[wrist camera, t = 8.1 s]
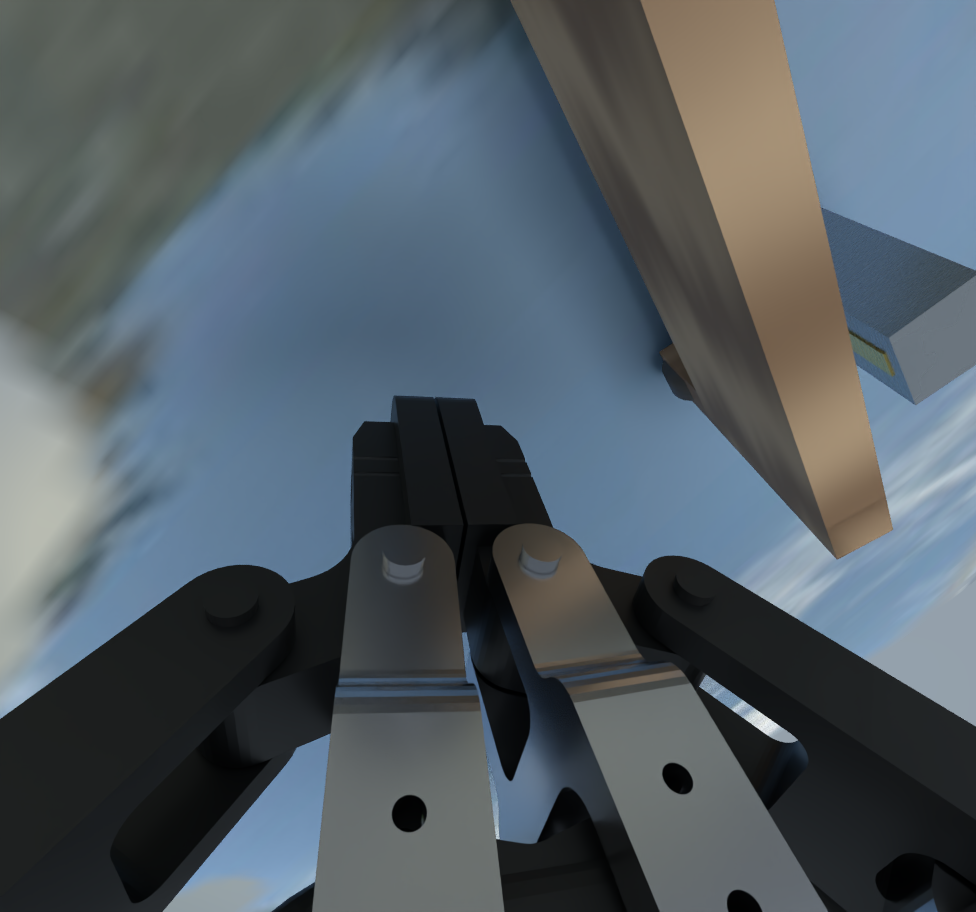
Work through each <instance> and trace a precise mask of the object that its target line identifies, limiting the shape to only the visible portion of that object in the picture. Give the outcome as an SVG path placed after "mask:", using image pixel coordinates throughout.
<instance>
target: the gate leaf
mask: <svg viewBox="0 0 976 912" xmlns="http://www.w3.org/2000/svg"><path fill="white" fill-rule="evenodd" d="M510 1H511V3H512V5H513V7H514V9H515V11H516V13H517V15H518V18H519V20H520V22H521V24H522V26H523V28H524V30H525V32H526V34H527V36H528V39H529V41H530V43H531V45H532V47H533V49H534V51H535V53H536V55H537V57H538V60H539V62H540V64H541V66H542V68H543V70H544V72H545V74H546V76H547V79H548V81H549V83H550V85H551V87H552V89H553V91H554V93H555V95H556V97H557V100H558V102H559V104H560V106H561V108H562V110H563V112H564V114H565V116H566V118H567V121H568V123H569V125H570V127H571V129H572V131H573V133H574V135H575V137H576V140H577V142H578V144H579V146H580V148H581V150H582V152H583V154H584V156H585V158H586V161H587V163H588V165H589V167H590V169H591V171H592V173H593V175H594V177H595V180H596V182H597V184H598V186H599V188H600V190H601V192H602V194H603V196H604V198H605V201H606V203H607V205H608V207H609V209H610V211H611V213H612V215H613V217H614V219H615V222H616V224H617V226H618V228H619V230H620V232H621V234H622V236H623V238H624V241H625V243H626V245H627V247H628V249H629V251H630V253H631V255H632V257H633V259H634V262H635V264H636V266H637V268H638V270H639V272H640V274H641V276H642V278H643V280H644V283H645V285H646V287H647V289H648V291H649V293H650V295H651V297H652V299H653V302H654V304H655V306H656V308H657V310H658V312H659V314H660V316H661V318H662V320H663V323H664V325H665V327H666V329H667V331H668V333H669V335H670V337H671V339H672V341H673V343H672V344H671V345H669V346H668V347H666V348H665V349H663V350H661V351H660V352H659V353H660V355H661V357H662V359H663V364H662V372H663V374H664V376H665V378H666V380H667V382H668V384H669V386H670V388H671V390H672V392H673V393H674V395H675V396H677V397H678V398H680V399H683V400H689V401H693V402H694V403H695V404H696V405H697V407H698V408H699V409H700V410H701V411H702V412H703V413H704V414H705V415H706V416H707V418H708V419H709V420H710V421H711V422H712V423H713V424H714V425H715V426H716V427H717V429H718V430H719V431H720V432H721V433H722V434H723V435H724V436H725V437H726V438H727V439H728V441H729V442H730V443H731V444H732V445H733V446H734V447H735V448H736V449H737V450H738V452H739V453H740V454H741V455H742V456H743V457H744V458H745V459H746V460H747V461H748V462H749V464H750V465H751V466H752V467H753V468H754V469H755V470H756V471H757V472H758V473H759V475H760V476H761V477H762V478H763V479H764V480H765V481H766V482H767V483H768V484H769V486H770V487H771V488H772V489H773V490H774V491H775V492H776V493H777V494H778V495H779V496H780V498H781V499H782V500H783V501H784V502H785V503H786V504H787V505H788V506H789V507H790V509H791V510H792V511H793V512H794V513H795V514H796V515H797V516H798V517H799V518H800V520H801V521H802V522H803V523H804V524H805V525H806V526H807V527H808V528H809V529H810V530H811V532H812V533H813V534H814V535H815V536H816V537H817V538H818V539H819V540H820V541H821V543H822V544H823V545H824V546H825V547H826V548H827V549H828V550H829V551H830V552H831V554H832V555H833V556H834V557H835V558H836V559H839V558H841V557H843V556H845V555H847V554H849V553H851V552H852V551H854V550H856V549H858V548H860V547H862V546H864V545H866V544H867V543H869V542H871V541H873V540H875V539H877V538H879V537H881V536H882V535H884V534H886V533H888V532H890V531H892V530H893V527H892V523H891V518H890V514H889V510H888V505H887V501H886V496H885V492H884V487H883V483H882V478H881V474H880V469H879V465H878V461H877V456H876V452H875V447H874V443H873V438H872V434H871V429H870V425H869V420H868V416H867V412H866V407H865V403H864V398H863V394H862V389H861V385H860V380H859V376H858V371H857V367H856V363H855V358H854V354H853V349H852V345H851V340H850V336H849V331H848V327H847V322H846V318H845V314H844V309H843V305H842V300H841V296H840V291H839V287H838V282H837V278H836V273H835V269H834V265H833V260H832V256H831V251H830V247H829V242H828V238H827V233H826V229H825V224H824V220H823V216H822V211H821V207H820V202H819V198H818V193H817V189H816V184H815V180H814V175H813V171H812V167H811V162H810V158H809V153H808V149H807V144H806V140H805V135H804V131H803V126H802V122H801V118H800V113H799V109H798V104H797V100H796V95H795V91H794V86H793V82H792V77H791V73H790V69H789V64H788V60H787V55H786V51H785V46H784V42H783V37H782V33H781V29H780V24H779V20H778V15H777V11H776V6H775V2H774V0H510Z"/></svg>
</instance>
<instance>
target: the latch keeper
mask: <svg viewBox="0 0 976 912" xmlns="http://www.w3.org/2000/svg"><path fill="white" fill-rule="evenodd" d="M821 211H822V216H823V220H824V224H825V229H826V233H827V238H828V242H829V247H830V251H831V256H832V260H833V265H834V269H835V273H836V278H837V282H838V287H839V291H840V296H841V300H842V305H843V309H844V314H845V318H846V322H847V327H848V331H849V336H850V340H851V345H852V349H853V354H854V358H855V363H856V365H857V366H859V367H860V368H862V369H863V370H865V371H866V372H868V373H869V374H871V375H872V376H874V377H875V378H876V379H878V380H879V381H881V382H882V383H884V384H885V385H887V386H888V387H890V388H891V389H893V390H894V391H896V392H897V393H898V394H900V395H901V396H903V397H904V398H906V399H907V400H909V401H910V402H912V403H913V404H915V405H917V404H918V403H920V402H921V401H923V400H924V399H926V398H927V397H929V396H930V395H932V394H933V393H935V392H936V391H938V390H939V389H941V388H942V387H943V386H945V385H946V384H948V383H949V382H951V381H952V380H954V379H955V378H957V377H958V376H960V375H961V374H963V373H964V372H966V371H967V370H969V369H970V368H972V367H973V366H975V365H976V271H975V270H973V269H970V268H968V267H965V266H963V265H961V264H958V263H956V262H953V261H951V260H948V259H946V258H943V257H941V256H938V255H936V254H934V253H931V252H929V251H926V250H924V249H921V248H919V247H916V246H914V245H911V244H909V243H907V242H904V241H902V240H899V239H897V238H894V237H892V236H889V235H887V234H884V233H882V232H880V231H877V230H875V229H872V228H870V227H867V226H865V225H862V224H860V223H858V222H855V221H853V220H850V219H848V218H845V217H843V216H840V215H838V214H835V213H833V212H831V211H828V210H826V209H823V208H821Z"/></svg>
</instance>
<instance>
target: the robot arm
mask: <svg viewBox="0 0 976 912" xmlns="http://www.w3.org/2000/svg"><path fill="white" fill-rule="evenodd" d="M462 632H467V636H468V641H469V646H470V651H469V656H468V660H467V665H466V671H465V661H464V651H463V641H462ZM706 675H708V676H709V677H711V678H712V679H713V680H715V681H716V682H718V683H719V684H721V685H722V686H723V687H725V688H726V689H728V690H729V691H731V692H732V693H734V694H735V695H736V696H738V697H739V698H741V699H742V700H744V701H745V702H746V703H748V704H749V705H751V706H752V707H754V708H755V709H756V710H758V711H759V712H761V713H762V714H764V715H765V716H766V717H768V718H769V719H771V720H772V721H774V722H775V723H777V724H778V725H779V726H781V727H782V728H784V729H785V730H787V731H788V732H790V733H791V734H792V735H793V736H795V737H796V738H797V739H798V741H796V742H793V743H784V742H780V741H777V740H775V739H773V738H771V737H769V736H767V735H766V734H765V733H763V732H762V731H760V730H759V729H758V728H756V727H755V726H753V725H752V724H751V723H749V722H748V721H746V720H745V719H744V718H742V717H741V716H739V715H738V714H736V713H735V712H734V711H732V710H731V709H729V708H728V707H727V706H725V705H724V704H722V703H721V702H720V701H718V700H717V699H715V698H714V697H713V696H711V695H710V694H708V693H707V692H706V691H704V690H703V689H701V688H700V687H699V686H700V684H701V682H702V681H703V679H704V677H705V676H706ZM466 677H467V678H466ZM330 733H331V735H330V745H329V754H328V764H327V774H326V783H325V793H324V803H323V812H322V822H321V831H320V841H319V851H318V860H317V870H316V879H315V882H314V883H312V884H311V885H309V886H308V887H306V888H304V889H303V890H301V891H300V892H298V893H296V894H295V895H293V896H291V897H290V898H288V899H287V900H286V901H285V902H283V903H282V904H281V905H280V906H278V907H277V908H276V909H274V910H273V911H272V912H976V726H974V725H972V724H970V723H969V722H967V721H966V720H964V719H962V718H961V717H959V716H957V715H955V714H954V713H952V712H950V711H949V710H947V709H946V708H944V707H942V706H941V705H939V704H937V703H935V702H934V701H932V700H931V699H929V698H927V697H926V696H924V695H922V694H921V693H919V692H917V691H916V690H914V689H912V688H911V687H909V686H907V685H906V684H904V683H902V682H901V681H899V680H897V679H896V678H894V677H892V676H891V675H889V674H887V673H886V672H884V671H883V670H881V669H879V668H878V667H876V666H874V665H872V664H871V663H869V662H868V661H866V660H864V659H863V658H861V657H859V656H858V655H856V654H854V653H853V652H851V651H849V650H848V649H846V648H844V647H843V646H841V645H839V644H838V643H836V642H834V641H833V640H831V639H829V638H828V637H826V636H824V635H823V634H821V633H819V632H818V631H816V630H814V629H813V628H811V627H809V626H808V625H806V624H804V623H803V622H801V621H799V620H798V619H796V618H794V617H793V616H791V615H789V614H788V613H786V612H785V611H783V610H781V609H780V608H778V607H776V606H775V605H773V604H771V603H770V602H768V601H766V600H765V599H763V598H761V597H760V596H758V595H756V594H755V593H753V592H751V591H750V590H748V589H746V588H745V587H743V586H741V585H740V584H738V583H736V582H735V581H733V580H731V579H730V578H728V577H726V576H725V575H723V574H721V573H720V572H718V571H716V570H715V569H713V568H711V567H710V566H708V565H706V564H704V563H702V562H699V561H697V560H694V559H691V558H687V557H682V556H664V557H660V558H657V559H655V560H653V561H652V562H651V563H649V565H648V566H647V567H646V570H645V572H644V574H643V577H642V576H637V575H633V574H629V573H624V572H620V571H615V570H611V569H607V568H603V567H600V566H596V565H594V564H591V563H590V562H589V561H588V559H587V557H586V555H585V553H584V552H583V550H582V549H581V547H580V546H579V545H578V544H577V543H576V542H575V541H574V540H573V539H572V538H571V537H569V536H568V535H566V534H565V533H563V532H561V531H559V530H557V529H555V528H553V526H552V523H551V521H550V519H549V516H548V514H547V511H546V509H545V506H544V504H543V502H542V499H541V497H540V494H539V492H538V489H537V487H536V485H535V482H534V480H533V477H531V472H530V470H529V468H528V465H527V463H525V458H524V455H523V453H522V450H521V448H520V446H519V443H518V441H517V440H516V439H515V438H514V437H513V436H511V435H510V434H509V433H508V432H507V431H506V430H505V429H504V428H503V427H502V426H496V425H484V424H483V421H482V418H481V415H480V412H479V409H478V406H477V403H476V401H475V399H465V398H443V397H436V398H435V399H434V398H433V397H417V396H393V401H392V410H391V422H369V421H364V423H363V424H362V426H361V427H360V428H359V430H358V431H357V432H356V434H355V435H354V436H353V447H352V475H351V549H350V550H349V552H348V554H347V555H346V556H345V557H344V559H343V560H342V561H340V562H339V563H338V564H337V565H336V566H334V567H333V568H331V569H330V570H328V571H326V572H324V573H322V574H319V575H317V576H314V577H311V578H308V579H304V580H300V581H297V582H293V583H290V584H288V582H287V581H286V580H285V579H284V578H283V577H282V576H280V575H279V574H277V573H276V572H274V571H271V570H269V569H266V568H263V567H259V566H252V565H233V566H226V567H222V568H217V569H215V570H212V571H209V572H206V573H204V574H202V575H200V576H198V577H196V578H195V579H193V580H192V581H190V582H188V583H187V584H186V585H184V586H183V587H182V588H180V589H179V590H177V591H176V592H175V593H173V594H172V595H171V596H169V597H168V598H166V599H165V600H164V601H162V602H161V603H160V604H158V605H157V606H155V607H154V608H153V609H151V610H150V611H149V612H147V613H146V614H144V615H143V616H142V617H140V618H139V619H138V620H136V621H135V622H133V623H132V624H131V625H129V626H128V627H126V628H125V629H124V630H122V631H121V632H120V633H118V634H117V635H115V636H114V637H113V638H111V639H110V640H109V641H107V642H106V643H104V644H103V645H102V646H100V647H99V648H98V649H96V650H95V651H93V652H92V653H91V654H89V655H88V656H87V657H85V658H84V659H82V660H81V661H80V662H78V663H77V664H76V665H74V666H73V667H71V668H70V669H69V670H67V671H66V672H64V673H63V674H62V675H60V676H59V677H58V678H56V679H55V680H53V681H52V682H51V683H49V684H48V685H47V686H45V687H44V688H42V689H41V690H40V691H38V692H37V693H36V694H34V695H33V696H31V697H30V698H29V699H27V700H26V701H25V702H23V703H22V704H20V705H19V706H18V707H16V708H15V709H13V710H12V711H11V712H9V713H8V714H7V715H5V716H4V717H2V718H1V719H0V912H163V910H164V909H165V908H166V907H167V906H168V904H169V903H170V902H171V901H172V900H173V898H174V897H175V896H176V895H177V894H178V893H179V891H180V890H181V889H182V888H183V887H184V885H185V884H186V883H187V882H188V881H189V879H190V878H191V877H192V876H193V875H194V873H195V872H196V871H197V870H198V869H199V867H200V866H201V865H202V864H203V863H204V862H205V860H206V859H207V858H208V857H209V856H210V854H211V853H212V852H213V851H214V850H215V848H216V847H217V846H218V845H219V844H220V842H221V841H222V840H223V839H224V838H225V836H226V835H227V834H228V833H229V832H230V831H231V829H232V828H233V827H234V826H235V825H236V823H237V822H238V821H239V820H240V819H241V817H242V816H243V815H244V814H245V813H246V811H247V810H248V809H249V808H250V807H251V805H252V804H253V803H254V802H255V801H256V800H257V798H258V797H259V796H260V795H261V794H262V792H263V791H264V790H265V789H266V788H267V786H268V785H269V784H270V783H271V782H272V780H273V779H274V778H275V777H276V776H277V774H278V773H279V772H280V771H281V770H282V769H283V767H284V766H285V765H286V764H287V762H288V761H289V760H290V758H291V757H292V755H293V753H294V751H295V749H296V748H297V747H299V746H302V745H304V744H307V743H309V742H311V741H314V740H316V739H318V738H321V737H323V736H325V735H328V734H330ZM486 753H487V756H488V760H489V764H490V767H491V771H492V775H493V779H494V782H495V786H496V791H497V797H498V805H499V837H500V840H498V839H496V835H495V826H494V818H493V809H492V800H491V792H490V783H489V774H488V766H487V757H486Z"/></svg>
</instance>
